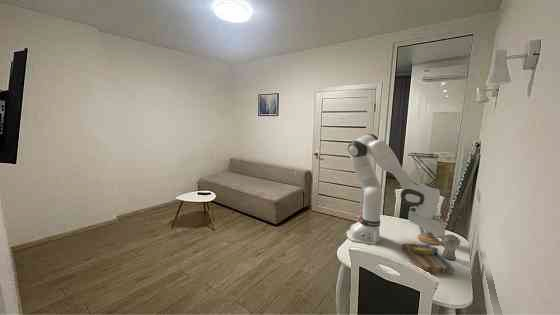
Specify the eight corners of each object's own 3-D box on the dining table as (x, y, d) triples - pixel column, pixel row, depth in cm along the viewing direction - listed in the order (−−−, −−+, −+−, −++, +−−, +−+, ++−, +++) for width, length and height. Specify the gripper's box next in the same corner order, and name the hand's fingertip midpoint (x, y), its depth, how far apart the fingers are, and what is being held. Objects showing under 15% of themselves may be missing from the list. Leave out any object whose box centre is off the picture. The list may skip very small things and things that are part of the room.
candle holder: (443, 246, 139) (447, 217, 136) (422, 244, 141) (425, 215, 138) (433, 236, 151) (437, 209, 148) (414, 234, 153) (417, 208, 150)
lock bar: (435, 252, 125) (436, 247, 124) (438, 255, 122) (439, 250, 122) (412, 250, 126) (412, 245, 126) (414, 253, 123) (415, 248, 123)
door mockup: (421, 273, 114) (422, 262, 113) (402, 249, 135) (402, 239, 134) (453, 275, 112) (455, 264, 111) (428, 250, 134) (429, 241, 133)
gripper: (450, 220, 110) (446, 245, 112) (416, 205, 129) (412, 226, 131) (440, 221, 108) (436, 246, 110) (407, 206, 127) (404, 227, 130)
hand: (423, 235), depth 121 cm, fingers closed
